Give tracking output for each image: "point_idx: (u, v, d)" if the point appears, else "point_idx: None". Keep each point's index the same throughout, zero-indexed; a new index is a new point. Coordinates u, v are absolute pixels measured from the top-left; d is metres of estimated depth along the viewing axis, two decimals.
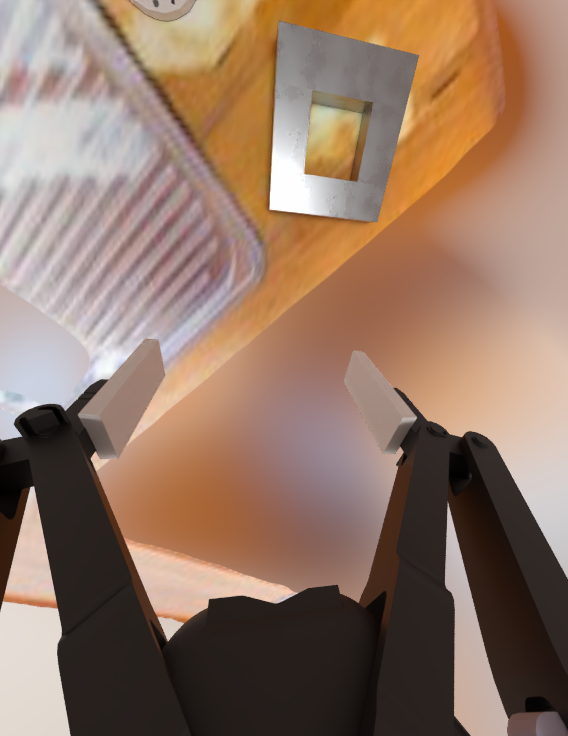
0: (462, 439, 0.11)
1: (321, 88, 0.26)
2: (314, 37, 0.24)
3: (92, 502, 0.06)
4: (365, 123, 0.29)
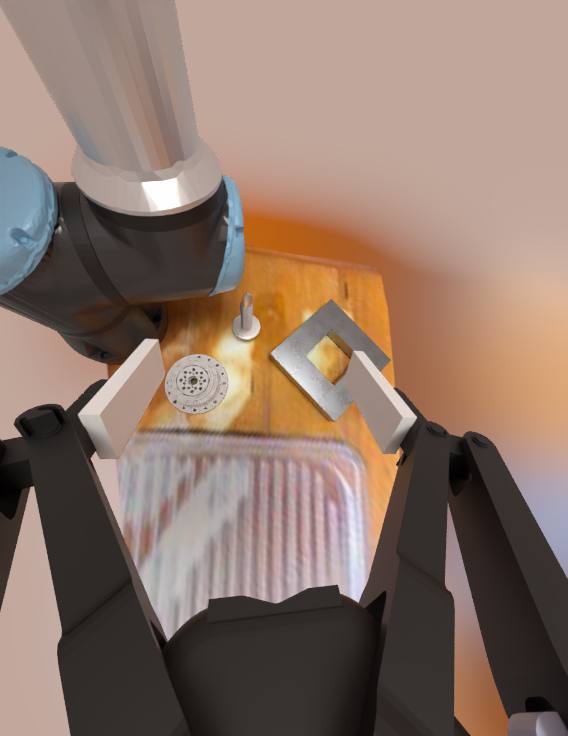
0: (462, 439, 0.11)
1: (307, 350, 0.40)
2: (288, 341, 0.40)
3: (92, 501, 0.06)
4: (335, 336, 0.43)
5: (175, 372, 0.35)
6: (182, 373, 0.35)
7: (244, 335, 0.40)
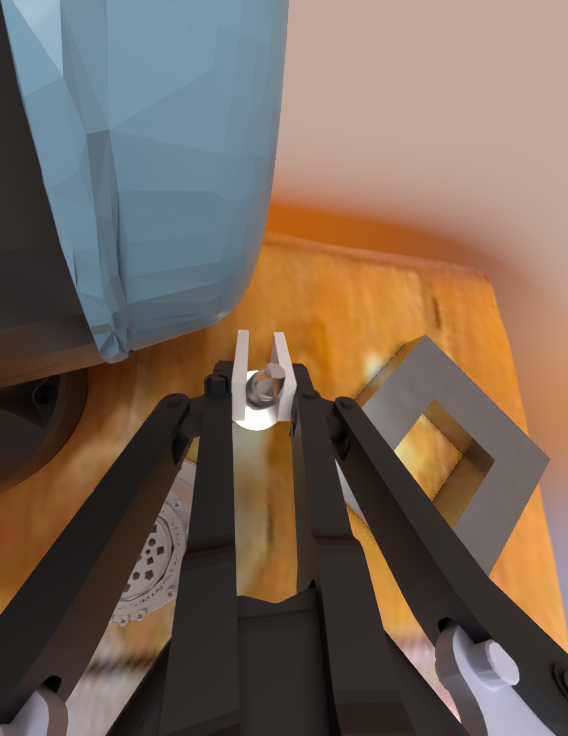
0: (334, 407, 0.11)
1: None
2: None
3: (227, 460, 0.08)
4: (434, 410, 0.22)
5: None
6: None
7: (254, 423, 0.18)
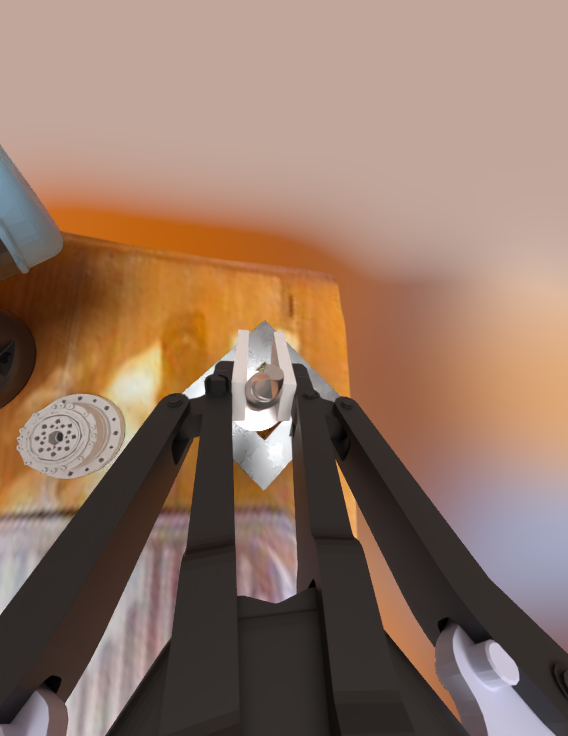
0: (334, 407, 0.11)
1: None
2: (201, 381, 0.30)
3: (227, 460, 0.08)
4: None
5: (29, 427, 0.25)
6: (39, 428, 0.25)
7: (254, 423, 0.18)
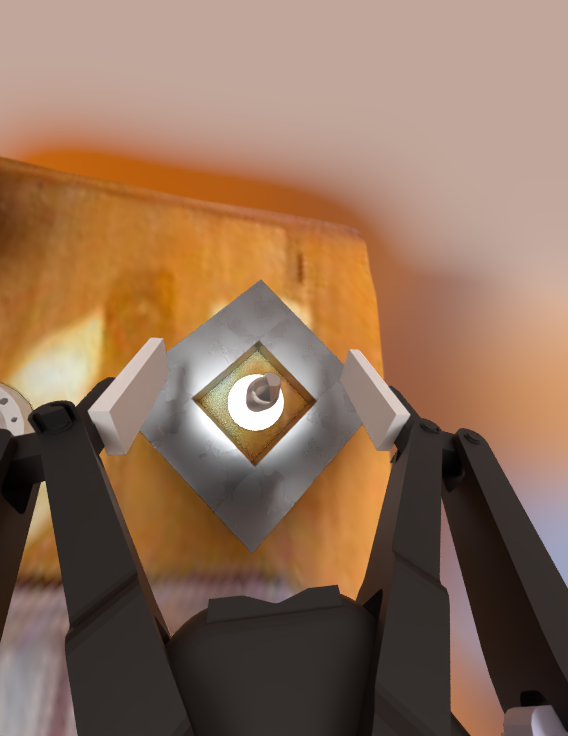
0: (455, 436, 0.11)
1: (198, 388, 0.19)
2: None
3: (100, 497, 0.07)
4: (268, 355, 0.22)
5: None
6: None
7: (253, 423, 0.19)
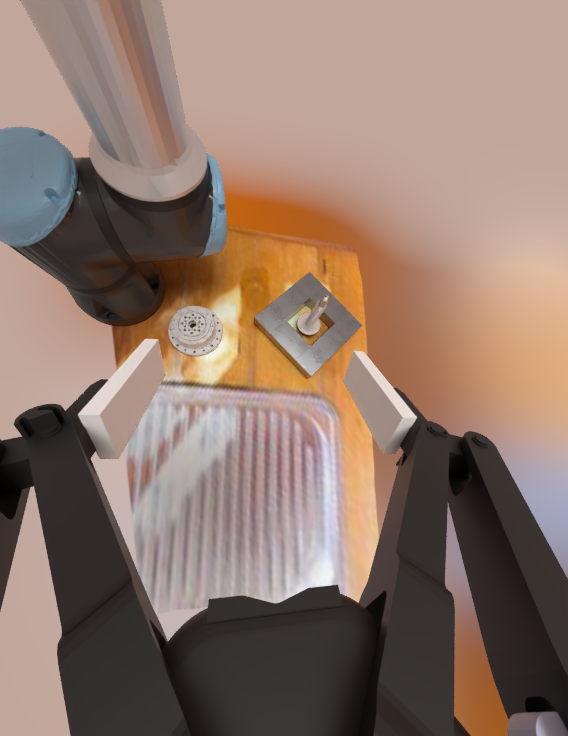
0: (462, 439, 0.11)
1: (287, 315, 0.46)
2: (270, 307, 0.46)
3: (92, 502, 0.06)
4: (313, 305, 0.49)
5: (177, 317, 0.41)
6: (183, 318, 0.41)
7: (308, 331, 0.47)
